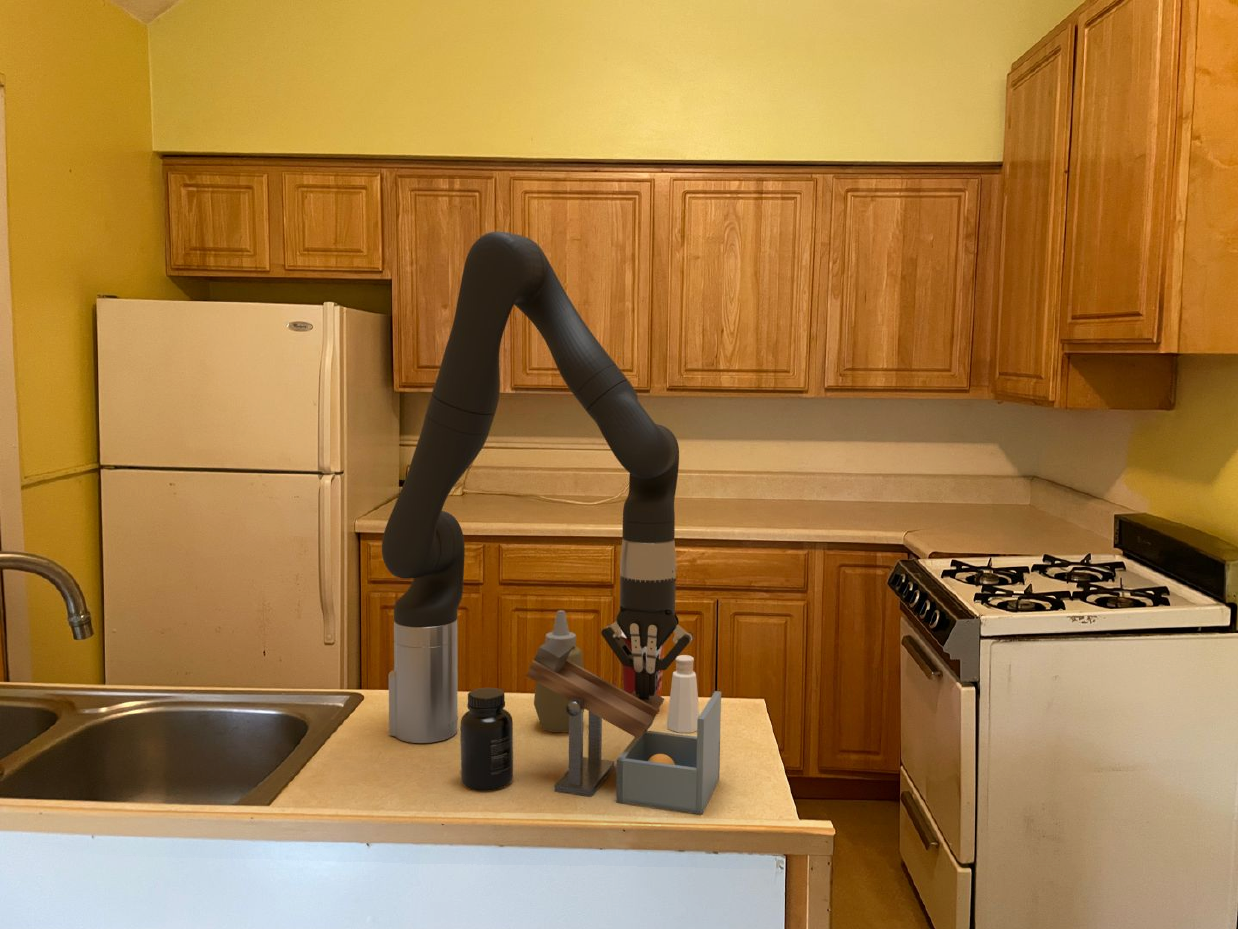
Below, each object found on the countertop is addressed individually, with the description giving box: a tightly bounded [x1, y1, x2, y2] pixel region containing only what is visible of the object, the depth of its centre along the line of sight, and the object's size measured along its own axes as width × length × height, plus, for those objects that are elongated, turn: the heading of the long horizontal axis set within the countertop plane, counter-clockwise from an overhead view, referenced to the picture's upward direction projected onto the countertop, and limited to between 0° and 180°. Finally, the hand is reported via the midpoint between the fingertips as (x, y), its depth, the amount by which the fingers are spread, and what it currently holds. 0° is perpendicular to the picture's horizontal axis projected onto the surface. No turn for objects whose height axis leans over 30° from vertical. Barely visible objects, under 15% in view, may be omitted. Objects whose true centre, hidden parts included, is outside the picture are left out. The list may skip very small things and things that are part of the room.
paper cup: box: [621, 630, 666, 715], centre depth 152 cm, size 8×8×14 cm
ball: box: [648, 754, 675, 765], centre depth 123 cm, size 4×4×4 cm
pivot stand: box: [553, 698, 615, 798], centre depth 125 cm, size 5×10×12 cm, turn 163°
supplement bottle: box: [459, 687, 514, 792], centre depth 124 cm, size 7×7×12 cm
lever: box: [525, 638, 665, 740], centre depth 128 cm, size 17×13×4 cm
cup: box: [615, 690, 722, 816], centre depth 122 cm, size 11×11×12 cm
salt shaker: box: [666, 654, 700, 734], centre depth 145 cm, size 5×5×11 cm
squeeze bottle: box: [533, 609, 586, 733], centre depth 144 cm, size 8×8×18 cm
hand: (646, 697), depth 129 cm, fingers closed
